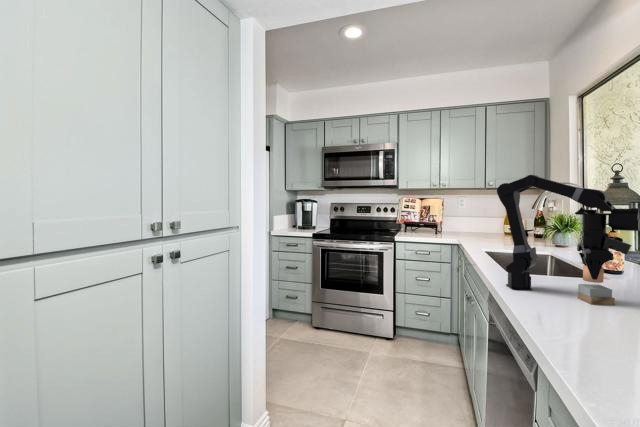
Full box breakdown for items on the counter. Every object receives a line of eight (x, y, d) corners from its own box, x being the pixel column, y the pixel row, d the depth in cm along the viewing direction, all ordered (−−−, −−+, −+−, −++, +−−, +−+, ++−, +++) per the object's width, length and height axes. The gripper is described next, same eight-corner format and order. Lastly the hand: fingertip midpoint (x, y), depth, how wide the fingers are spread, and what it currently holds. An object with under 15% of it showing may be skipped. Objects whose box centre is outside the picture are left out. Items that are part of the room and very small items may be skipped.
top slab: (589, 296, 100) (590, 288, 100) (578, 291, 106) (578, 284, 106) (611, 297, 99) (612, 289, 99) (598, 292, 105) (599, 284, 105)
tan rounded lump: (589, 282, 100) (590, 268, 100) (579, 278, 105) (579, 265, 105) (607, 282, 100) (607, 268, 99) (596, 278, 105) (596, 265, 104)
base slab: (591, 305, 100) (591, 297, 99) (577, 299, 106) (577, 291, 106) (614, 306, 99) (614, 298, 98) (599, 299, 105) (599, 292, 105)
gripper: (638, 233, 90) (636, 288, 90) (620, 227, 105) (619, 274, 106) (586, 231, 95) (585, 283, 96) (577, 226, 111) (576, 270, 112)
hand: (592, 277), depth 102 cm, fingers closed on tan rounded lump, 5 cm apart
